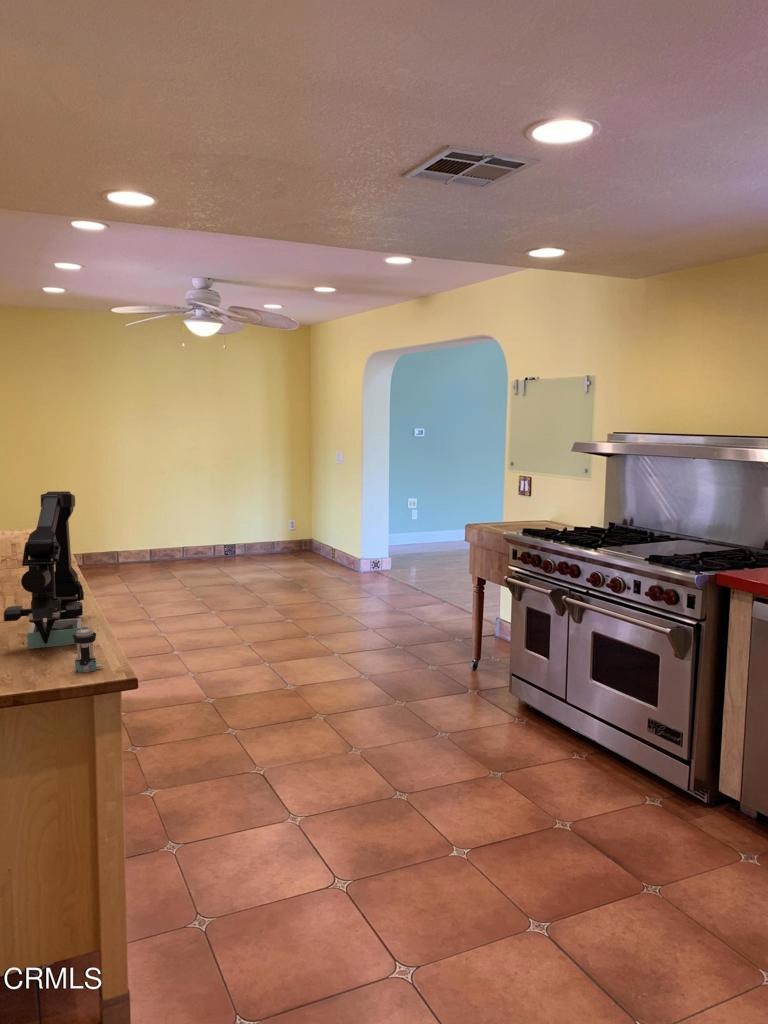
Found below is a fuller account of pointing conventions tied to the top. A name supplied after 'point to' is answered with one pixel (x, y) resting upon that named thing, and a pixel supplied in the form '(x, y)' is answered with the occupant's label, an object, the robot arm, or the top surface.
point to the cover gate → (52, 638)
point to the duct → (76, 622)
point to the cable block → (58, 626)
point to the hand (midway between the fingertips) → (45, 643)
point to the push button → (85, 651)
